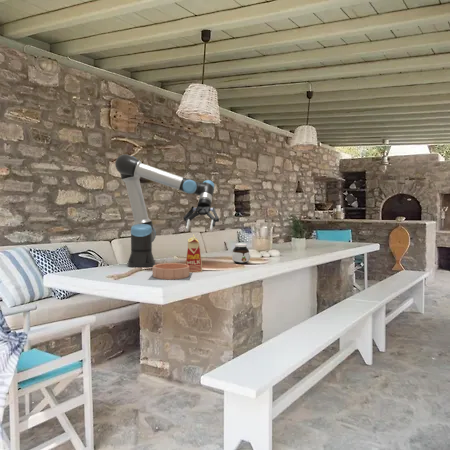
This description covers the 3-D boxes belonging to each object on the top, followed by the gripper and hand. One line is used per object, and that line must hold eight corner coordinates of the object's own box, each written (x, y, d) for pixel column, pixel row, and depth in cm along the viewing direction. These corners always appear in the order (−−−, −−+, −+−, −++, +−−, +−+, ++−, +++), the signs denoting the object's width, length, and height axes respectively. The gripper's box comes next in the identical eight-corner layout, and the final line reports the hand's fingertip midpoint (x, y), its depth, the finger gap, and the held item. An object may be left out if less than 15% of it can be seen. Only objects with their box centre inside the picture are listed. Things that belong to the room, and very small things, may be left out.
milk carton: (184, 270, 239) (184, 233, 238) (201, 270, 240) (202, 233, 239) (184, 273, 230) (184, 235, 229) (202, 273, 231) (202, 235, 230)
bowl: (150, 279, 211) (150, 269, 211) (156, 272, 229) (156, 263, 229) (187, 279, 211) (187, 269, 211) (190, 273, 229) (190, 263, 229)
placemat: (147, 280, 210) (147, 279, 210) (154, 272, 230) (154, 272, 230) (189, 281, 210) (189, 280, 210) (192, 273, 230) (192, 272, 230)
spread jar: (233, 264, 262) (233, 244, 261) (230, 261, 273) (230, 242, 272) (253, 264, 263) (253, 244, 263) (249, 261, 275) (249, 242, 274)
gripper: (226, 206, 258) (221, 234, 244) (185, 206, 262) (178, 233, 249) (225, 197, 252) (220, 225, 239) (183, 197, 257) (175, 224, 243)
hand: (198, 229), depth 244 cm, fingers open, 13 cm apart
